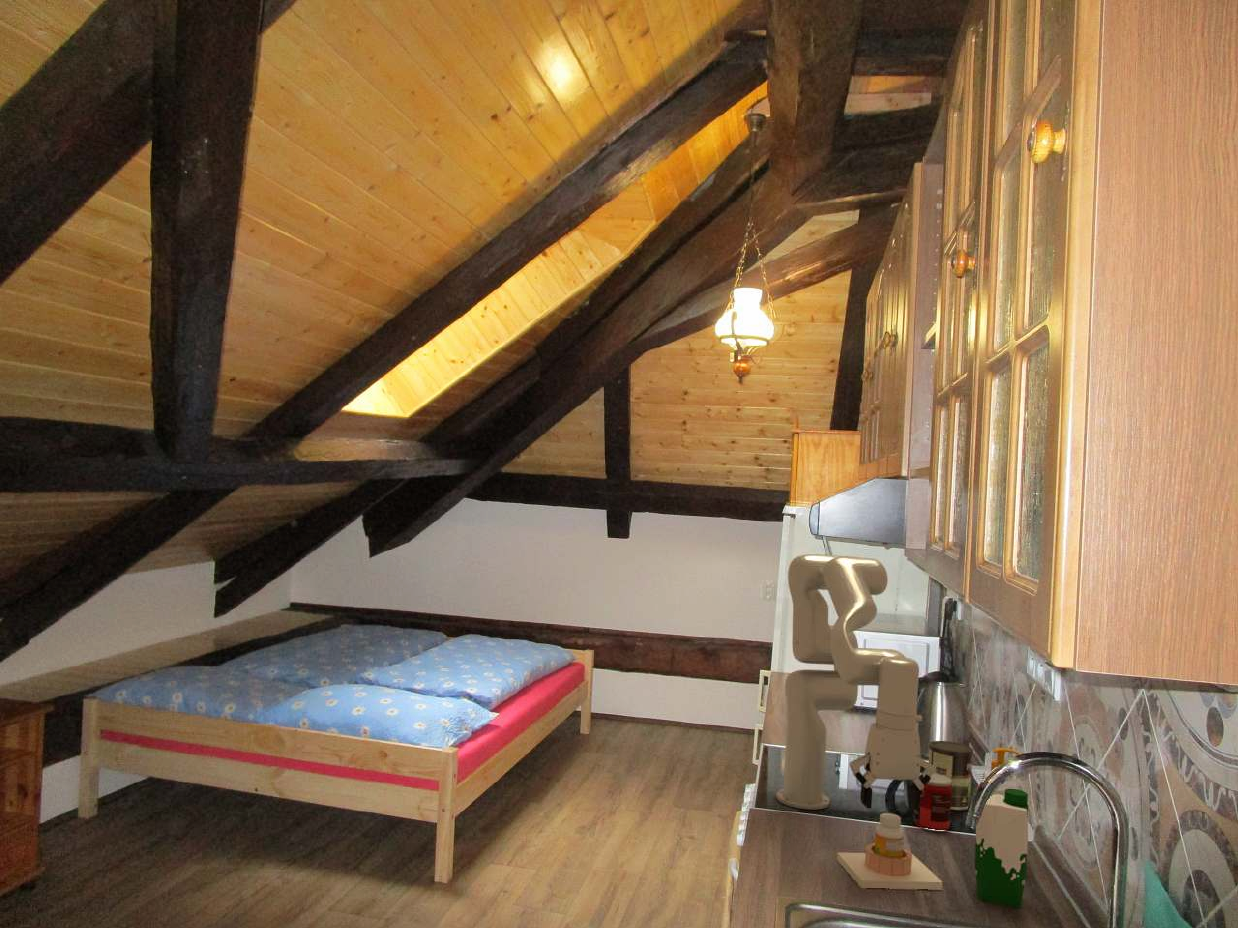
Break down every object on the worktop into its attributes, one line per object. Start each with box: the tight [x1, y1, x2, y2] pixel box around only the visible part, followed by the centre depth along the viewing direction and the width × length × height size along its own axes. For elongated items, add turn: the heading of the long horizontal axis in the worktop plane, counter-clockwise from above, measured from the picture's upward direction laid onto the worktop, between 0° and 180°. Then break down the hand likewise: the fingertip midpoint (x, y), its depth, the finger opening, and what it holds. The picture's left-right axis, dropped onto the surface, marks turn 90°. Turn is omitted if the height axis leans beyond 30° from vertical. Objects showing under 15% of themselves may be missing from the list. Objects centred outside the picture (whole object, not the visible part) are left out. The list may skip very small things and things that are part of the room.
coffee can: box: [928, 740, 974, 811], centre depth 221 cm, size 10×10×14 cm
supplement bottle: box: [874, 812, 905, 858], centre depth 175 cm, size 5×5×10 cm
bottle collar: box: [864, 842, 913, 876], centre depth 175 cm, size 9×9×3 cm
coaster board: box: [836, 852, 943, 891], centre depth 175 cm, size 13×16×2 cm
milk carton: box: [974, 788, 1029, 909], centre depth 168 cm, size 9×9×20 cm
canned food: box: [913, 772, 952, 831], centre depth 204 cm, size 8×8×11 cm
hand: (889, 806), depth 176 cm, fingers open, 9 cm apart
